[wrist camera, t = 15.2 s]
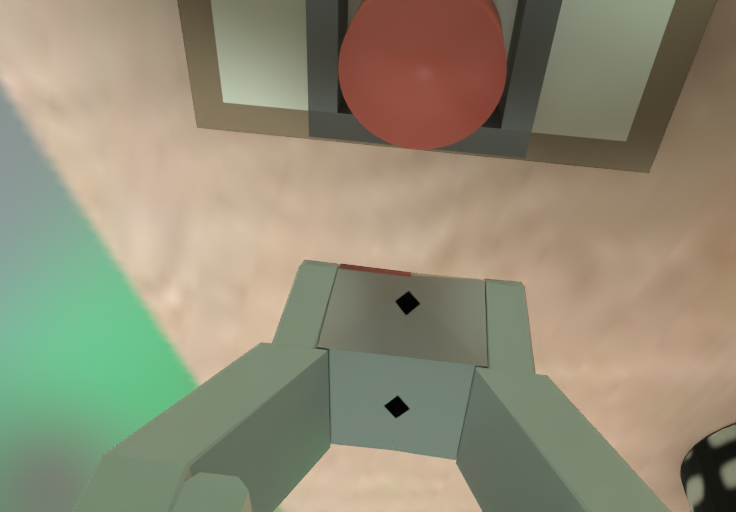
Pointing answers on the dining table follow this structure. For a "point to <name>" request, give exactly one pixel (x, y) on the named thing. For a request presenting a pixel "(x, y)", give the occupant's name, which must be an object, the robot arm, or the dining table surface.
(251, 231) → the dining table surface
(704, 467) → the spotted tube
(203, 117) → the board
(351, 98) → the button
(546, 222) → the dining table surface
